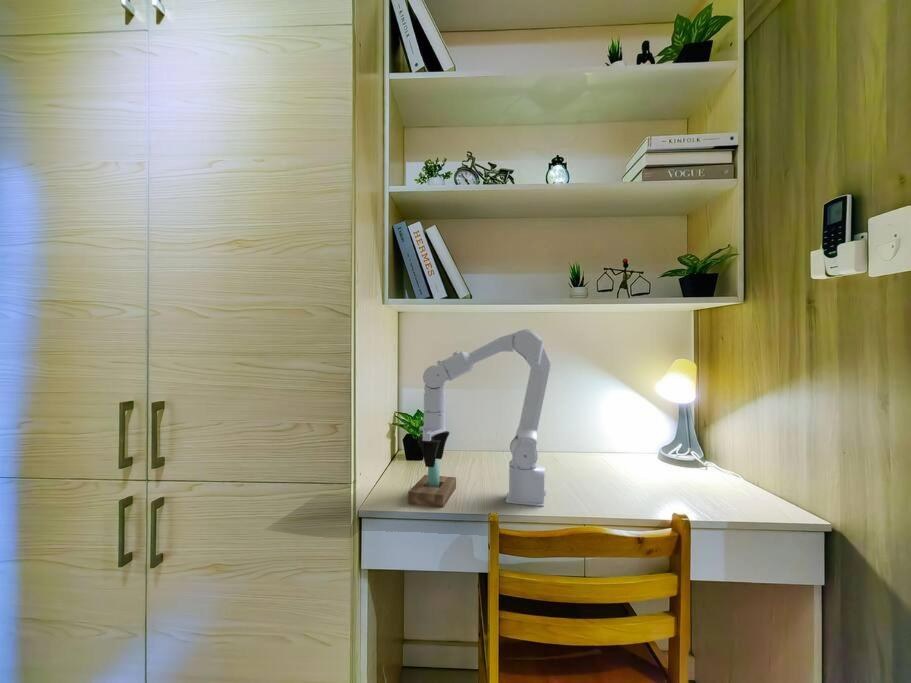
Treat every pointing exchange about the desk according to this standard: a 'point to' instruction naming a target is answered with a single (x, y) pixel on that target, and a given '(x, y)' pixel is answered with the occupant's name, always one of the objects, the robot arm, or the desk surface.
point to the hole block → (432, 492)
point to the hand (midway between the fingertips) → (434, 462)
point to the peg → (434, 475)
